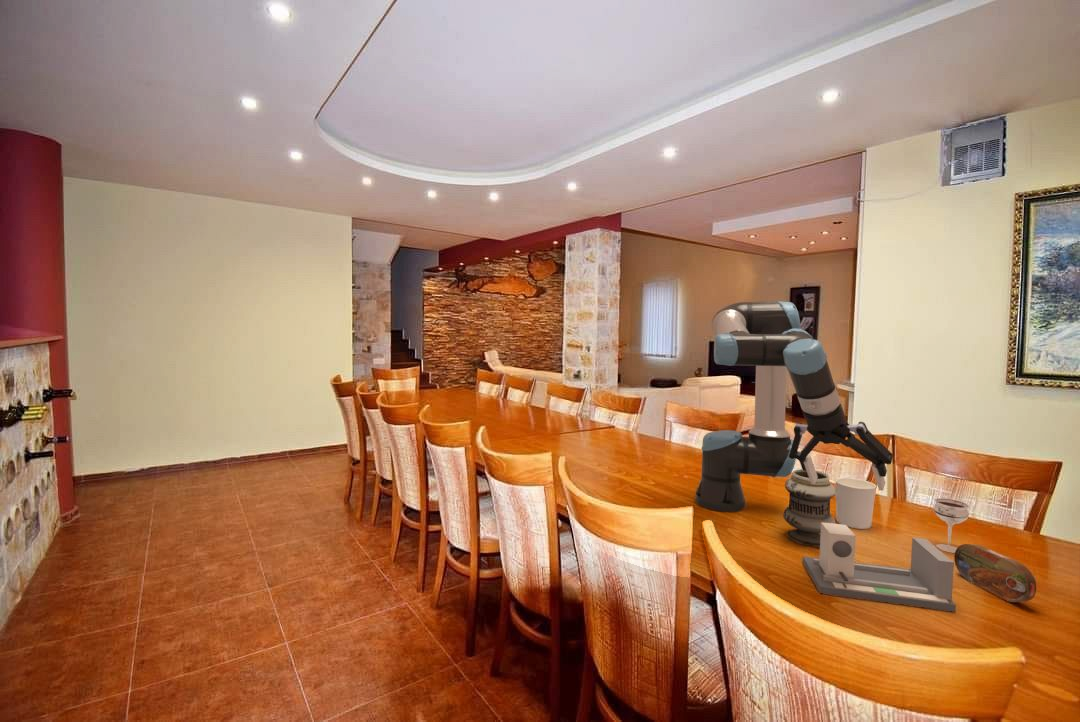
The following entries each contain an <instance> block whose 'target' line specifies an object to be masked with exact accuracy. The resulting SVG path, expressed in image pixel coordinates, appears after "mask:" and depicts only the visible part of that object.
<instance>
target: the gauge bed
mask: <svg viewBox="0 0 1080 722" xmlns="http://www.w3.org/2000/svg"><path fill="white" fill-rule="evenodd" d="M910 556H911V557H910V568H903V567H898V566H896V567H895V566H887V565H880V564H873V563H870V564H869V563H863V562H855V561H854V579H853V578H847V579H848V581H844V580H843V578H842V577H837V576H830V575H826V574H825V573H824V571H823V570H822V568H821V566H820V565H819V559H820V557H813V556H804V555H802V558H801V559H802V564H803V566H804V567H805V570H806V572H807V573H808V574H809V576H810V578H812V579H811V580H812V582H813V584H814V585H816V586H815V588H816V589H817V591H818V593H819V592H820V593H823V594H822V595H827V594H829V595H830V596H834V595H836V597H842V596H843V597H844V598H849V597H852V598H851V599H856V598H860V599H859V600H863V599H868V600H867V601H871V600H873V601H872V602H878V601H880V602H879V603H885V602H888V603H887V604H892V603H897V604H896V605H900V604H905V605H904V606H907V605H913V606H912V607H914V606H919V607H918V608H921V607H926V608H925V609H929V608H931V609H930V610H936V609H937V610H938V611H945V612H950V611H952V612H953V613H956V612H957V610H956V608H957V604H956V603H955V602H954V601H952V600H953V599H952V598H953V587H954V585H953V584H954V567H955V561H953V560H952V559H950V557H948V556H947V555H946V554H945V553H943V552H942V551H941V549H939V548H937V547H936V545H934V544H933V543H931V542H930V541H929V540H928V539H926V538H922V537H921V538H920V537H912V539H911V555H910ZM820 593H819V594H820ZM829 595H828V596H829Z"/></svg>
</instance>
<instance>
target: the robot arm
mask: <svg viewBox="0 0 1080 722" xmlns="http://www.w3.org/2000/svg"><path fill="white" fill-rule="evenodd" d="M711 328H712V331H713V334H714V335H715V337H714V341H713V360H714V363H715V364H716V365H722V366H723V365H724V366H729V367H731V366H745V367H746V366H752V367H753V366H755V389H754V390H755V391H754V392H755V393H754V394H755V395H754V424H753V425H754V426H753V427H752V428H751V429H749V430H748V436H743V434H742V432H740V431H738V430H729V429H726V430H724V429H723V430H717V431H716V430H715V431H711V432H708V433H705V435H704V436H703V438H702V446H701V450H702V453H701V454H702V455H701V478H700V481H699V484H698V487H696V488H697V489H696V492H695V496H694V497H695V498H694V499H695V503H696V504H697V505H699V506H700V507H702V508H705V509H708V510H710V511H711V510H712V511H716V512H723V513H724V512H725V513H734V512H735V513H736V512H740V511H743V510H745V509H746V497H745V493H744V491H743V487H742V485H741V474H742V475H752V476H765V477H771V478H776V477H777V478H778V477H779V478H787V477H788V476H791V475H792V472H793V471H794V467H795V463H796V460H797V461H798V462H799V464H800V466H801V469H803V470H804V471H807V473H808V476H809V479H810V482H811V484H815V482H816V480H817V478H818V476H817V473H816V471H817V470H816V468H815V465H814V462H813V459H812V457H811V455H809V454H810V453H811V452H812V451H813V450H814V449H815V447H816V446H817V445H818V444H819V443H823V444H824V445H828V444H833V445H834V444H835V445H840V444H841V445H843V446H844V447H846V448H850V449H852V450H853V451H854V452H855V453H857V454H859V455H860V456H861V457H863V458H865V459H866V460H867V461H869V462H871V463H872V464H871V470H872V472H873V476H874V479H875V482H876V486H877V488H878V491H881V492H883V491H884V490H885V486H886V481H885V477H886V475H887V474H888V473H887V472H888V470H887V467H886V465H891V464H892V461H893V457H894V454H893V453H892V452H891V451H890V450H889V449H888V448H887V447H886V446H885V445H884V444H883V443H882V442H881V441H880V440H879V439H878V438H876V436H875V435H874V434H873V433H872V432H871V431H870V430H869V429H868V427H867V425H866V423H865V422H864V421H859V422H858V424H849V422H847V419H846V415H845V411H844V410H843V409H844V408H843V406H842V403H841V399H840V396H839V393H838V391H837V388H836V385H835V382H834V379H833V376H832V373H831V370H830V366H829V362H828V359H827V358H828V356H827V353H826V352H825V349H824V347H823V345H822V343H821V341H819V340H818V339H814V338H813V336H812V335H811V334H810V333H808V331H805V330H804V329H802V328H801V319H800V314H799V311H798V309H797V306H796V305H795V304H794V303H793V302H792V301H791V302H790V301H779V300H777V301H750V302H749V301H747V302H746V301H741V302H736V303H731V304H728V305H727V306H724V307H723V308H721V309H720V310H718V311H717V312H716V313H715V314H714V316H713V318H712V320H711ZM787 373H788V374H789V375H788V376H789V378H790V379H791V382H792V385H793V387H794V389H795V394H796V397H797V400H798V402H799V404H800V408H801V410H802V414H803V417H804V421H805V423H806V424H803V423H802V422H801V421H797V422H796V423H795V426H794V427H793V433H794V437H793V439H792V438H791V434H790V433H789V432H788V431H787V430H786V402H787V399H786V398H787ZM806 432H808V433H809V434H810V435H812V437H811V438H810V440H809V441H808V442H807V443H806V445H805V446H804V447H803V448H802V449H801V451H798V450H799V447H800V444H801V440H802V437H803V434H804V435H805V433H806ZM852 432H853V433H854V434H855V435H854V434H853V433H852ZM857 436H858V437H859V439H858V438H857ZM846 438H847V439H846ZM815 470H816V471H815Z"/></svg>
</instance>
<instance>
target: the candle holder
mask: <svg viewBox="0 0 1080 722" xmlns="http://www.w3.org/2000/svg"><path fill="white" fill-rule="evenodd" d="M834 481H835V490H836V494H835V505H836V506H835V509H836V512H835V513H836V520H837V523H838V524H843V525H846V526H847V527H848V528H851V529H856V530H857V529H858V530H868V529H870V528H871V527H872V523H873V522H872V521H873V513H874V506H875V496H876V491H877V490H876V489H877V484H875V483H873V482H871V481H868V480H866V479H865V480H864V479H860V478H856V477H838V478H835V480H834Z"/></svg>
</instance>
